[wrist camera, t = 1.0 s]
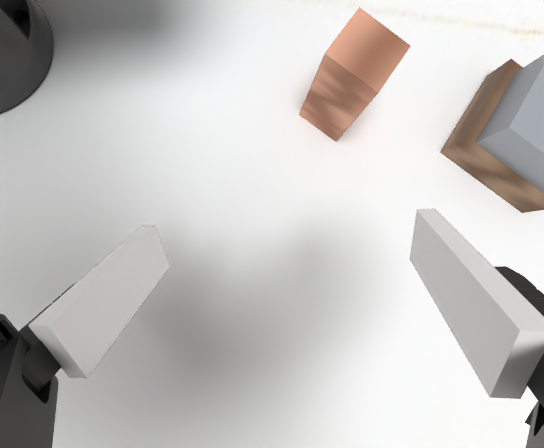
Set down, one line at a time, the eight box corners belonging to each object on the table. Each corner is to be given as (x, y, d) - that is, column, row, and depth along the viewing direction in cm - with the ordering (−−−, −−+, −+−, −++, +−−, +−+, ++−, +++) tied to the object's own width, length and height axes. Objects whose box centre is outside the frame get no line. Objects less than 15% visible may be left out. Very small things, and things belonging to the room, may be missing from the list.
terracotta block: (299, 114, 29) (325, 53, 20) (323, 81, 29) (359, 7, 20) (336, 141, 29) (378, 92, 20) (359, 107, 29) (410, 46, 21)
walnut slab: (436, 153, 31) (461, 141, 27) (482, 79, 32) (511, 58, 29) (516, 213, 31) (551, 208, 28) (557, 136, 33) (595, 122, 29)
